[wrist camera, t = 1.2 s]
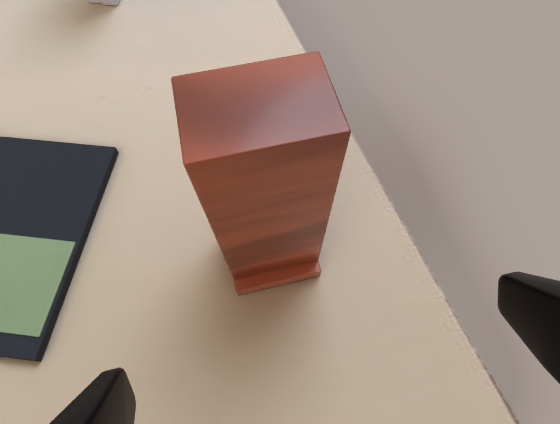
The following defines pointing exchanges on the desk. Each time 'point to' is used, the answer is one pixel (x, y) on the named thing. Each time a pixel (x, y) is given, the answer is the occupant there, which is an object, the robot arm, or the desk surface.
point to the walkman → (105, 2)
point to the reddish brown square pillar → (264, 162)
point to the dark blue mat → (43, 232)
